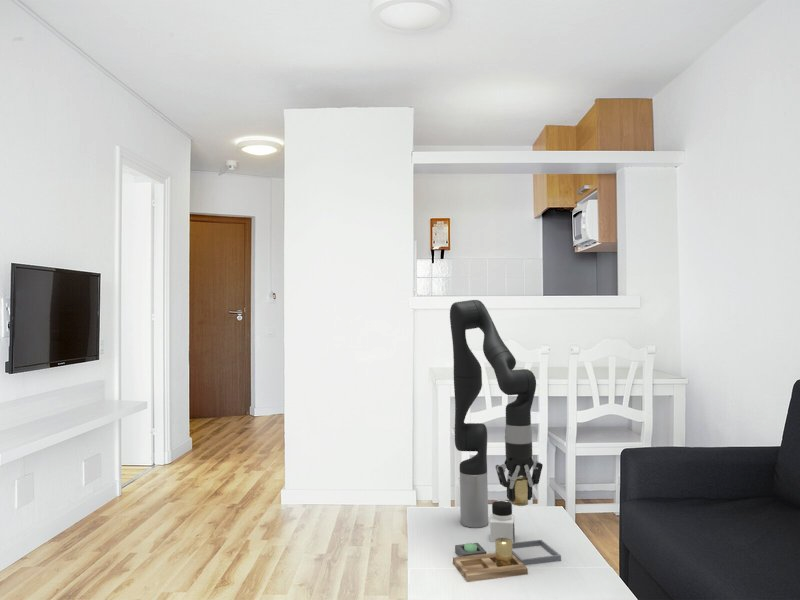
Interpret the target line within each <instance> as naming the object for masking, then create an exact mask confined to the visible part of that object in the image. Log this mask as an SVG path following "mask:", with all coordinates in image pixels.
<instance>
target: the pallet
mask: <svg viewBox="0 0 800 600" xmlns="http://www.w3.org/2000/svg"><path fill="white" fill-rule="evenodd" d="M452 564H453V565H454V567H455V568H456V569H457V570H458V572H459V573H460V574H461V576H462V577H463V578H464V580H465V581H466V582H467V583H468V582H476V581H484V580H493V579H500V578H501V579H503V578H508V577H516V576H523V575H529V571H528V570H529V568H528V567H527V565H524V564H523V563H522V562H521V561H520V560H518V559H517V558H516V557H515V556H514V555H513V565H510V566H502V567H497V566H496V552H489V553H487V554H479V555H471V556H462V557H459V556H455V557H452Z"/></svg>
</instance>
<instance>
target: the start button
mask: <svg viewBox="0 0 800 600" xmlns="http://www.w3.org/2000/svg"><path fill="white" fill-rule="evenodd" d="M474 543H475V542H467V543H464V544H465V545H464V551H465V552H473V551H477V545H476V544H474Z"/></svg>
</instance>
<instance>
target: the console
mask: <svg viewBox="0 0 800 600" xmlns="http://www.w3.org/2000/svg"><path fill="white" fill-rule="evenodd" d="M473 543H474V544H476V545H477V551H473V552H465V551H464V545H465V544H466V543H462V544H455V545H454V552H455V554H456V555H457V557H462V556H471V555H479V554H488V553H487V551H486V550H485V548H483V546H481V544H480V543H479V542H473Z"/></svg>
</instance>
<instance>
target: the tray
mask: <svg viewBox="0 0 800 600" xmlns="http://www.w3.org/2000/svg"><path fill="white" fill-rule="evenodd" d="M535 546H536V547H538V546H540V547H542V548H543V549H544V550H545V551H546V552H548V553H549V554H550V555H547V556H537V557H530V558H521V557H520V556H519V555H518V554H516V552H515V551H514V550H513V549H520V548H530V547H535ZM512 554H513V555H514V556H515V557H516V558H517V559H518V560H520V561H521V562H522V563H523V564H524V565H525V566H529V565H537V564H538V565H539V564H546V563H547V564H548V563H555V562H562V555H561V554H560V553H559V552H557V551H556V550H555V549H554V548H552V546H550V545H549V544H548V543H546V542H545V541H544V540H543V539H535V540H534V539H533V540H527V541H526V540H525V541H524V540H523V541H516V542H515V541H514V543H512Z"/></svg>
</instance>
